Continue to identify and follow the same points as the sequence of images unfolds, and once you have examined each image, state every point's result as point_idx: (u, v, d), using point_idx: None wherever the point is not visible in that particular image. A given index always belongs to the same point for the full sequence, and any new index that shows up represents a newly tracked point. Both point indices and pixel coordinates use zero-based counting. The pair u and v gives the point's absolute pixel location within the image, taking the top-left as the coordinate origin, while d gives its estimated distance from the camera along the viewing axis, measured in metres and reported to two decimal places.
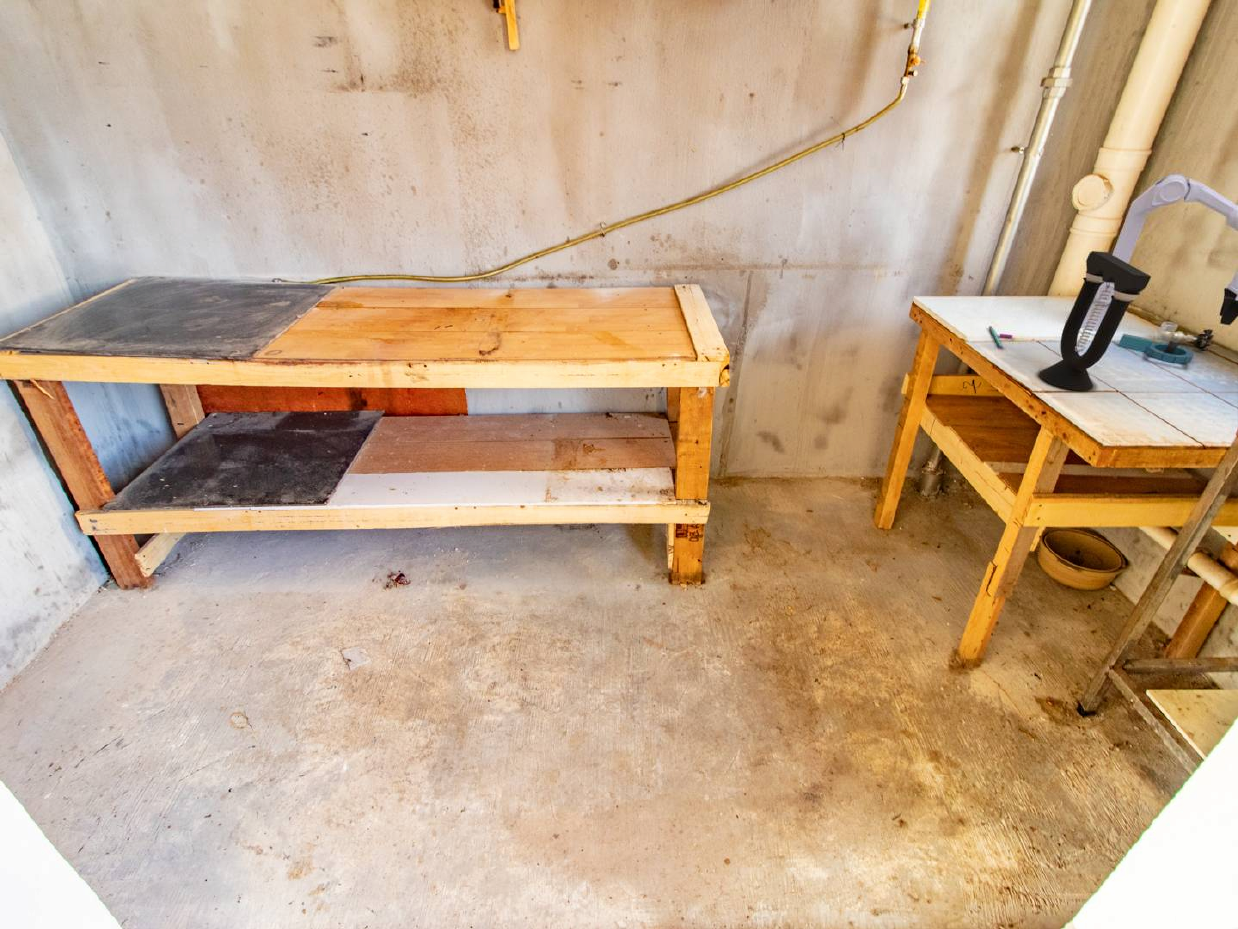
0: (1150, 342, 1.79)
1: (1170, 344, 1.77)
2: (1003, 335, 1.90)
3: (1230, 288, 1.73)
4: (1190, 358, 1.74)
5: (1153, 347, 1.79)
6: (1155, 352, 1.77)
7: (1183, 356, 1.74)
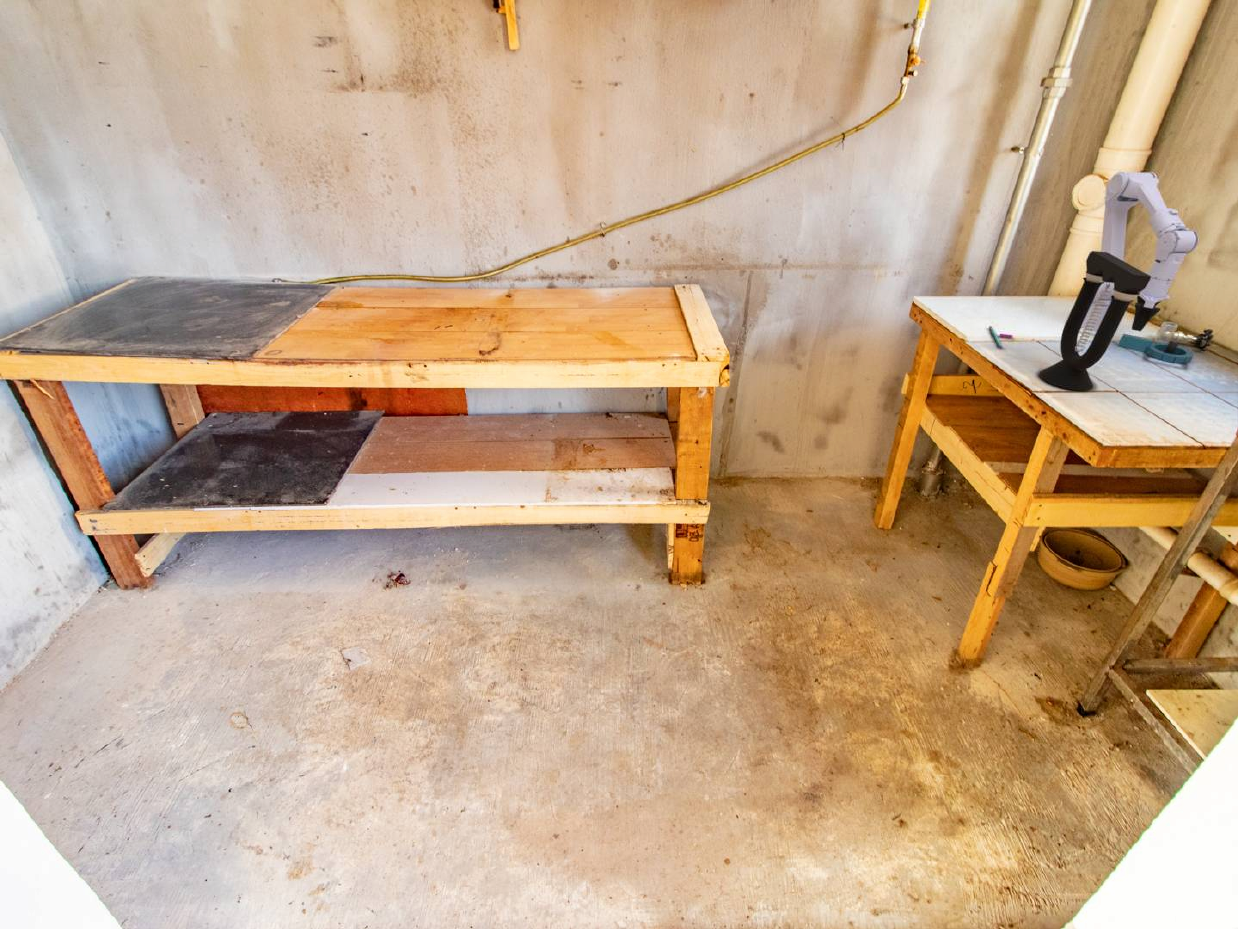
0: (1150, 342, 1.79)
1: (1170, 344, 1.77)
2: (1003, 335, 1.90)
3: (1140, 295, 1.75)
4: (1190, 358, 1.74)
5: (1153, 347, 1.79)
6: (1155, 352, 1.77)
7: (1183, 356, 1.74)
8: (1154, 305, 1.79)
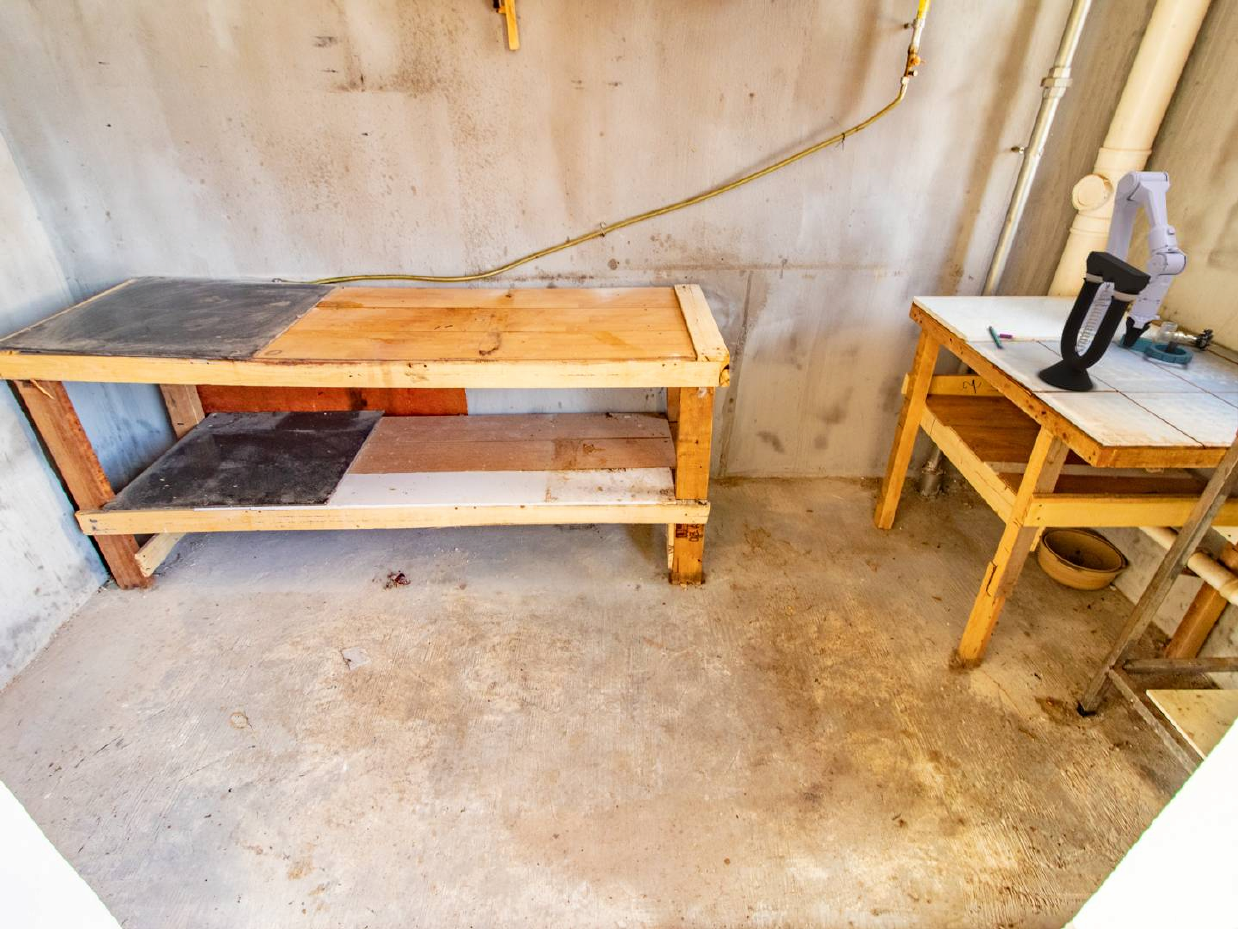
0: (1150, 342, 1.79)
1: (1170, 344, 1.77)
2: (1003, 335, 1.90)
3: (1130, 315, 1.78)
4: (1190, 358, 1.75)
5: (1153, 347, 1.79)
6: (1155, 352, 1.77)
7: (1183, 356, 1.74)
8: None
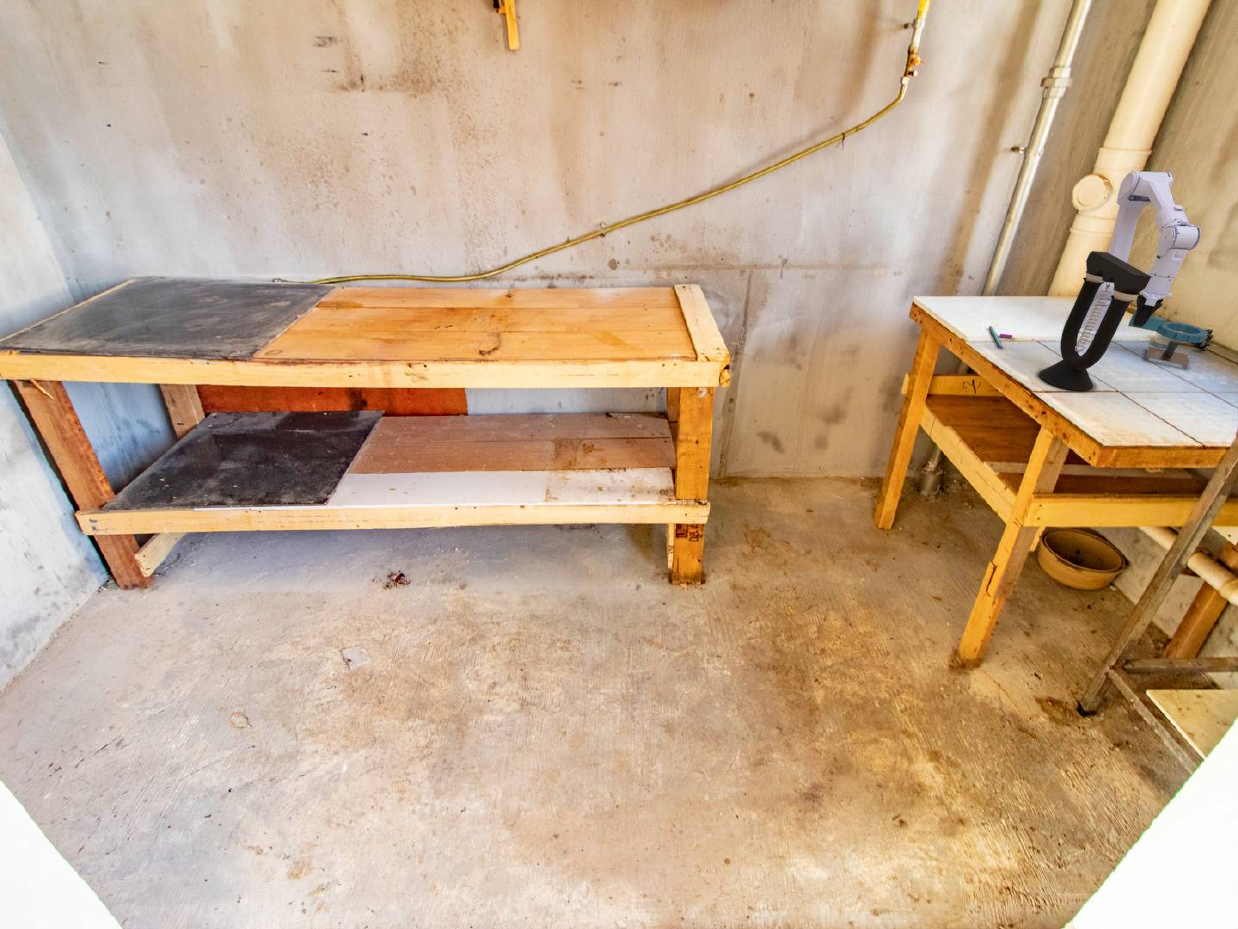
0: (1162, 321, 1.71)
1: (1170, 344, 1.77)
2: (1003, 335, 1.90)
3: (1141, 292, 1.70)
4: (1204, 337, 1.67)
5: (1165, 326, 1.71)
6: (1168, 331, 1.69)
7: (1197, 335, 1.66)
8: None
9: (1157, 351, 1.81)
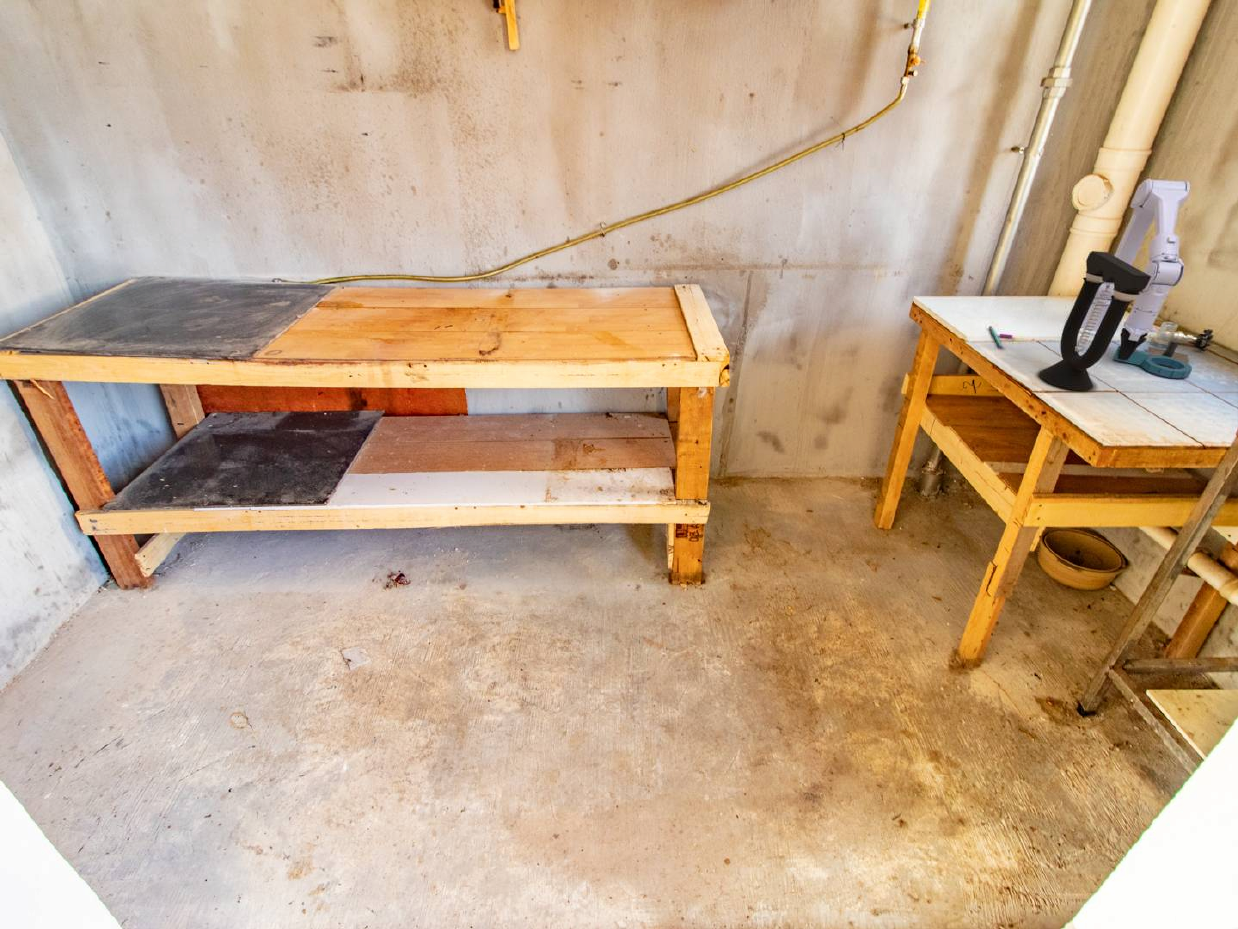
0: (1146, 355, 1.70)
1: (1170, 344, 1.77)
2: (1003, 335, 1.90)
3: (1125, 326, 1.69)
4: (1188, 372, 1.66)
5: (1149, 360, 1.70)
6: (1152, 366, 1.68)
7: (1181, 370, 1.65)
8: None
9: (1157, 351, 1.81)
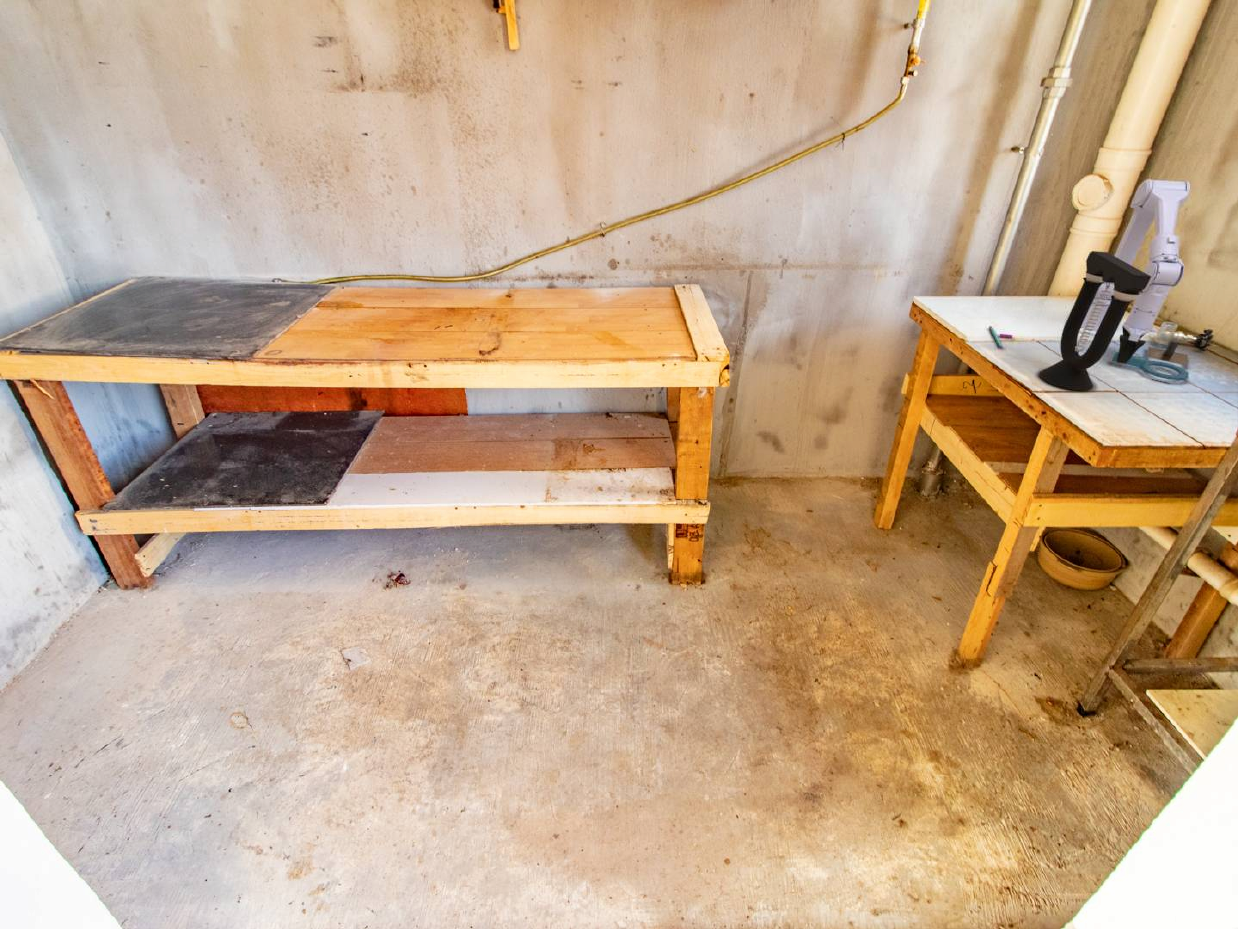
0: (1143, 361, 1.71)
1: (1170, 344, 1.77)
2: (1003, 335, 1.90)
3: (1125, 327, 1.69)
4: (1185, 378, 1.67)
5: (1146, 366, 1.71)
6: (1148, 372, 1.69)
7: (1178, 376, 1.66)
8: (1140, 336, 1.73)
9: (1157, 351, 1.81)
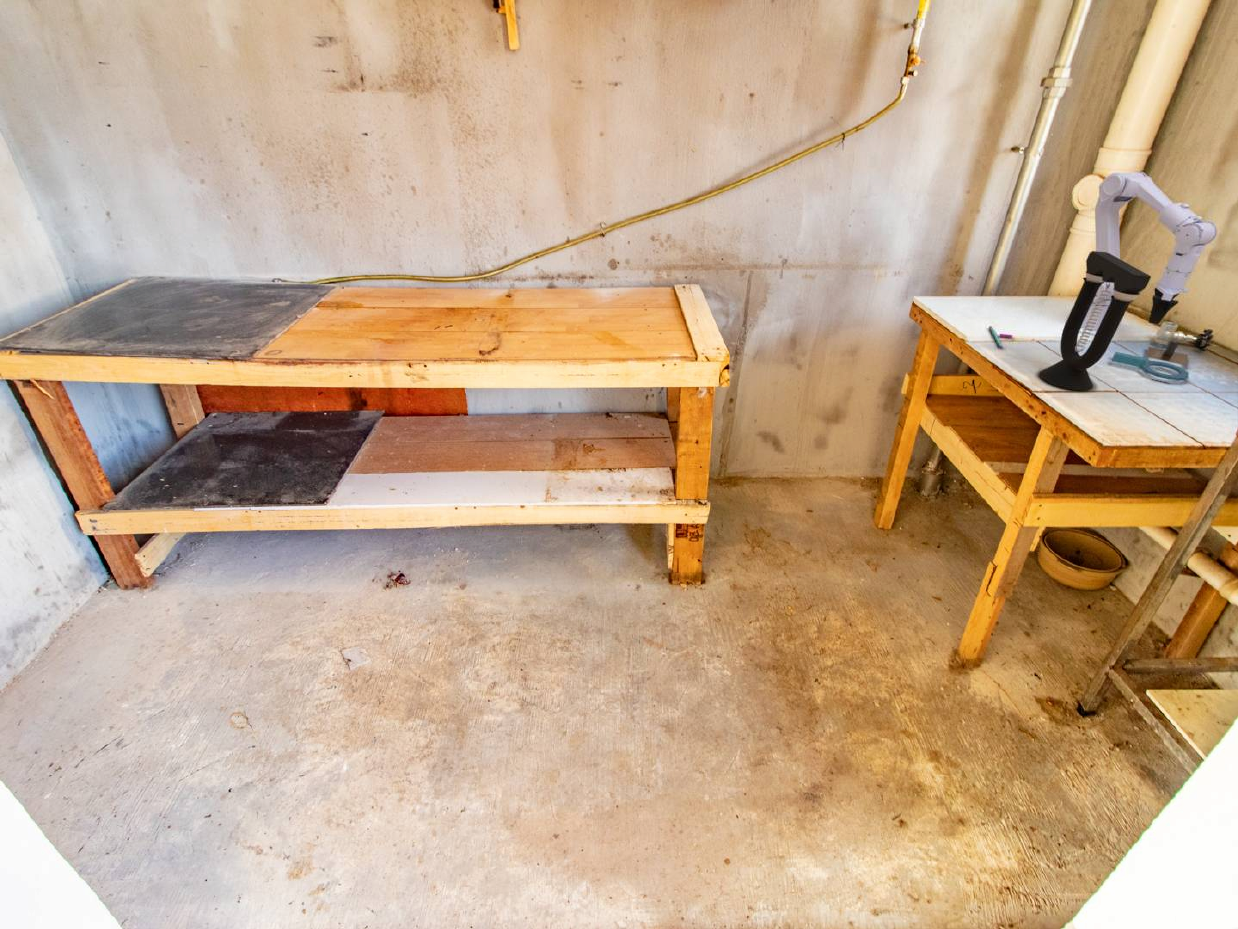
0: (1143, 361, 1.71)
1: (1170, 344, 1.77)
2: (1003, 335, 1.90)
3: (1158, 287, 1.74)
4: (1185, 378, 1.67)
5: (1146, 366, 1.71)
6: (1148, 372, 1.69)
7: (1178, 376, 1.66)
8: (1172, 298, 1.78)
9: (1157, 351, 1.81)
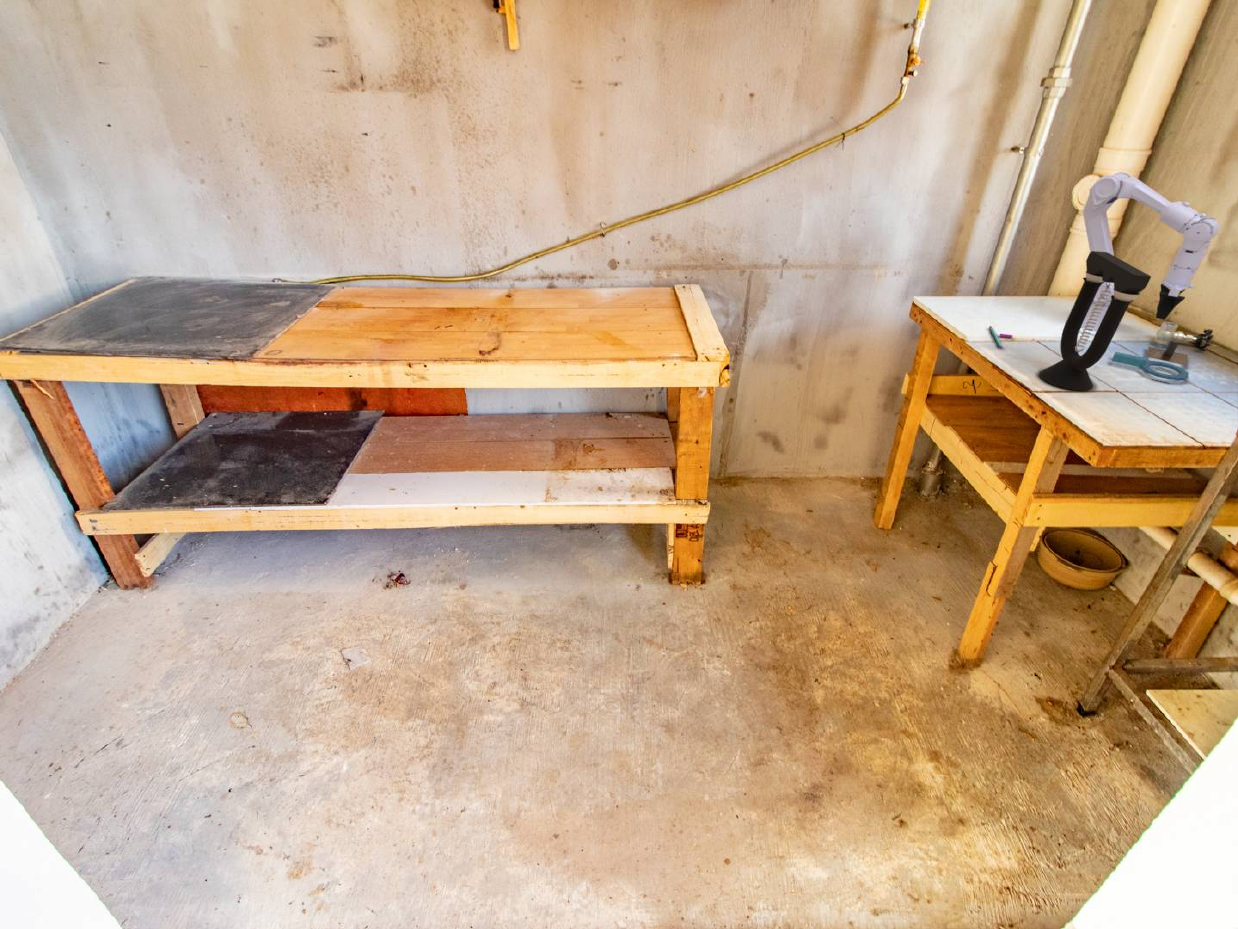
0: (1143, 361, 1.71)
1: (1170, 344, 1.77)
2: (1003, 335, 1.90)
3: (1164, 283, 1.77)
4: (1185, 378, 1.67)
5: (1146, 366, 1.71)
6: (1148, 372, 1.69)
7: (1178, 376, 1.66)
8: None
9: (1157, 351, 1.81)
